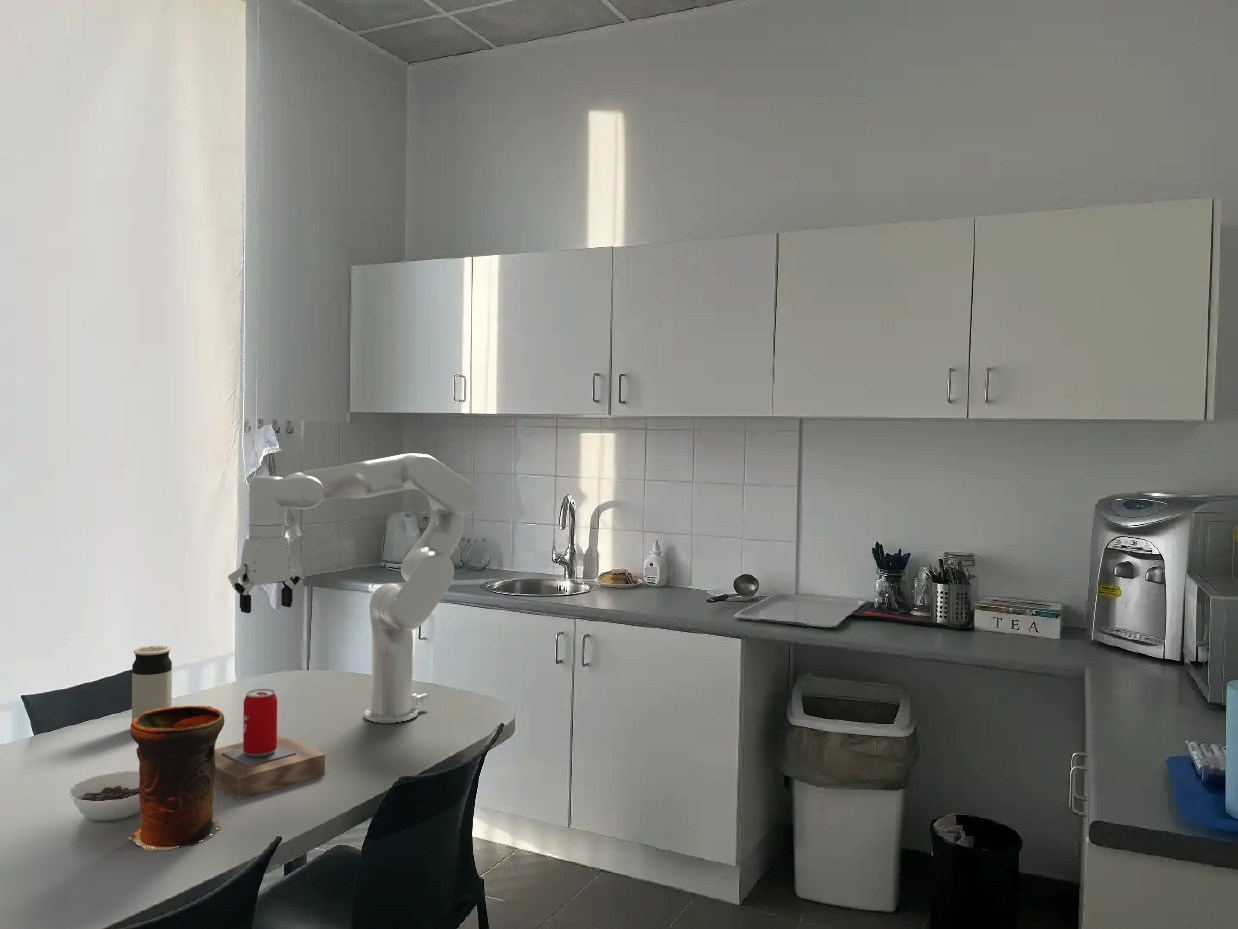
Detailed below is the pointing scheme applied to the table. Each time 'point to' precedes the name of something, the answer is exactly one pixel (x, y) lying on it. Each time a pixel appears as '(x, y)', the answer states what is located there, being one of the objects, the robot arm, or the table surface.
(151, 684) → the travel mug
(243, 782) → the walnut plinth
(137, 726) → the vessel
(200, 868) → the table surface
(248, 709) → the beverage can
